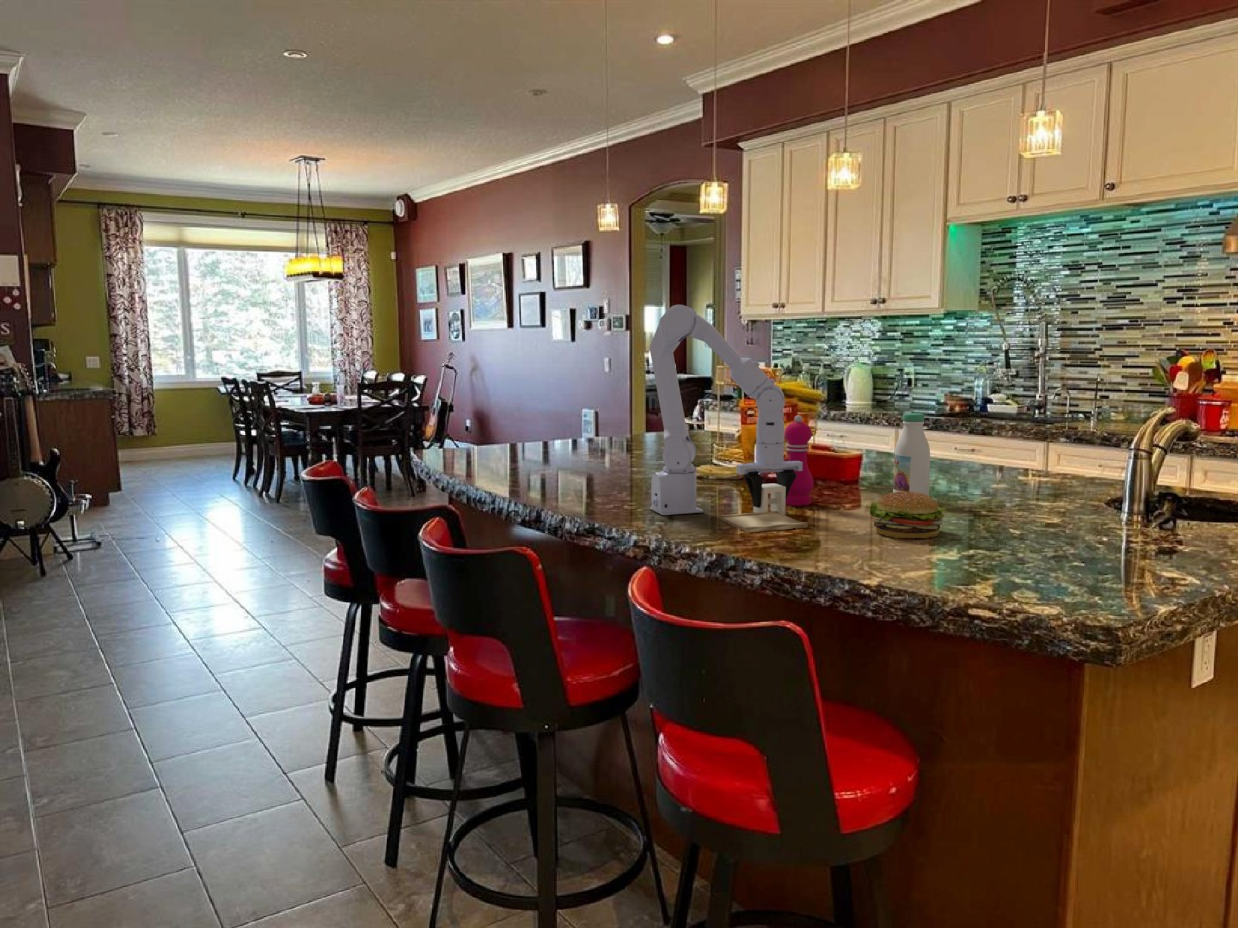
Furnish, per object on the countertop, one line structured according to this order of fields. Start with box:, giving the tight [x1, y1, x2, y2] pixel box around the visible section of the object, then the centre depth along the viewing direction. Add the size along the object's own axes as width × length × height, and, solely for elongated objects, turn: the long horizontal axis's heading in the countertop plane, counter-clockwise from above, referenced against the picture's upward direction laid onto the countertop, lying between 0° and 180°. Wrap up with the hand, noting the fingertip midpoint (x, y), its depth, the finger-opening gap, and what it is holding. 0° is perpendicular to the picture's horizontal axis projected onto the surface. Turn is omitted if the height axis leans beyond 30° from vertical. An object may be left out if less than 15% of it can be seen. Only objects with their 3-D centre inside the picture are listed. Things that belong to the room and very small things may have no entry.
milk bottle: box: [892, 412, 931, 496], centre depth 200 cm, size 8×8×20 cm
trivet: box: [719, 510, 808, 533], centre depth 179 cm, size 13×13×1 cm
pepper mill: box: [784, 415, 814, 507], centre depth 199 cm, size 7×7×20 cm
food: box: [869, 491, 947, 540], centre depth 169 cm, size 14×14×8 cm
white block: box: [752, 483, 786, 516], centre depth 189 cm, size 5×5×6 cm
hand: (769, 505), depth 189 cm, fingers open, 5 cm apart
